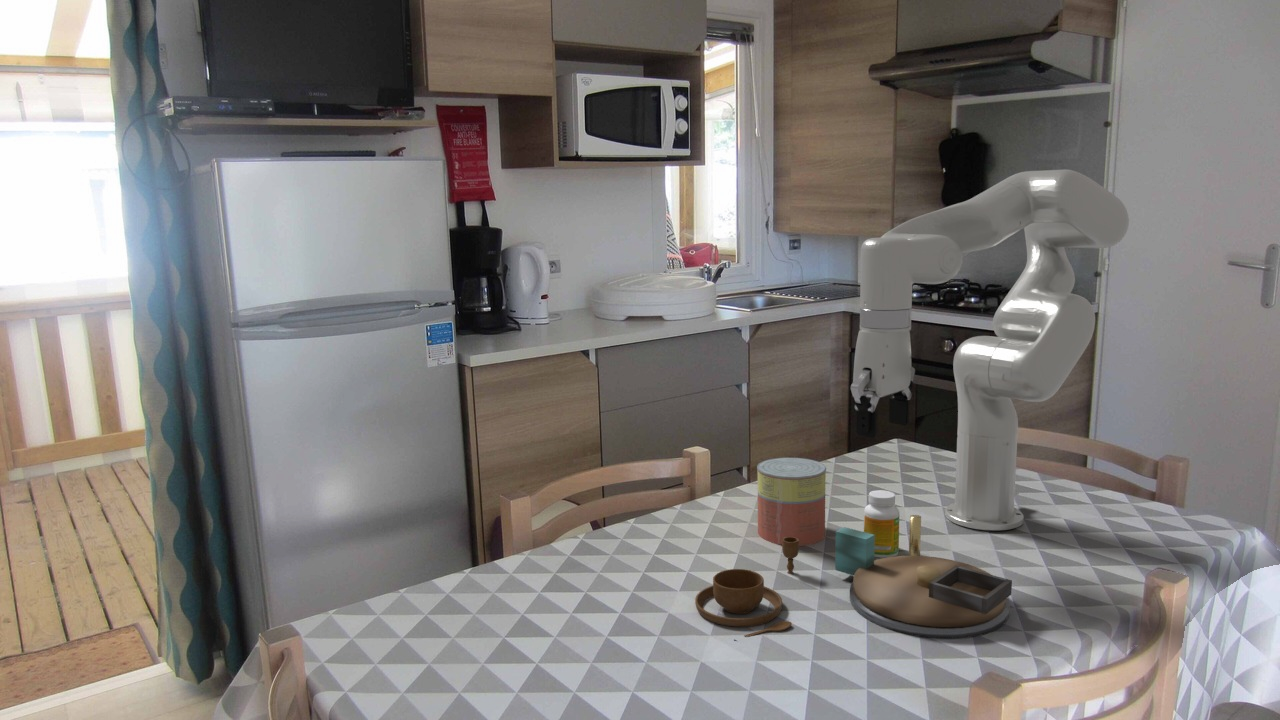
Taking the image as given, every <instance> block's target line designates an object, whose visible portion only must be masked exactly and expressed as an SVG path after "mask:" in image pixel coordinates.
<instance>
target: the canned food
mask: <svg viewBox="0 0 1280 720" xmlns="http://www.w3.org/2000/svg"><path fill="white" fill-rule="evenodd" d="M756 469H757V534H758V537H760V538H761V539H763V540H765V542H766V541H767V542H768V543H771V544H776V545H781V546H782V539H783V538H785V537H795V538H798V539H799V547H800V546H809V545H814V544H816V543H819V542H821V541H823V539H824V538H825V537H826V473H827V465H825V464H824V463H822V462H820V461H818V460H814V459H810V458H803V457H793V456H791V457H776V458H775V457H773V458H770V459H765V460H762V461H760V462H759V463H758V464H757V466H756Z"/></svg>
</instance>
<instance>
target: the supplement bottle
mask: <svg viewBox="0 0 1280 720" xmlns="http://www.w3.org/2000/svg"><path fill="white" fill-rule="evenodd" d="M868 503H869V504H867V505H866V506H865V507H864V510H863V532H866V533H870V534H873V535H875V546H874V558H879V559H882V558H888V557H896V556H899V555H898V554H899V549H900V546H899V545H900V544H899V543H900V510H899V508H898V507H897V506H896V505H895V503H896V494H895V492H892V491H888V490H881V489H879V490H876V489H875V490H872V491H870V492H868Z"/></svg>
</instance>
